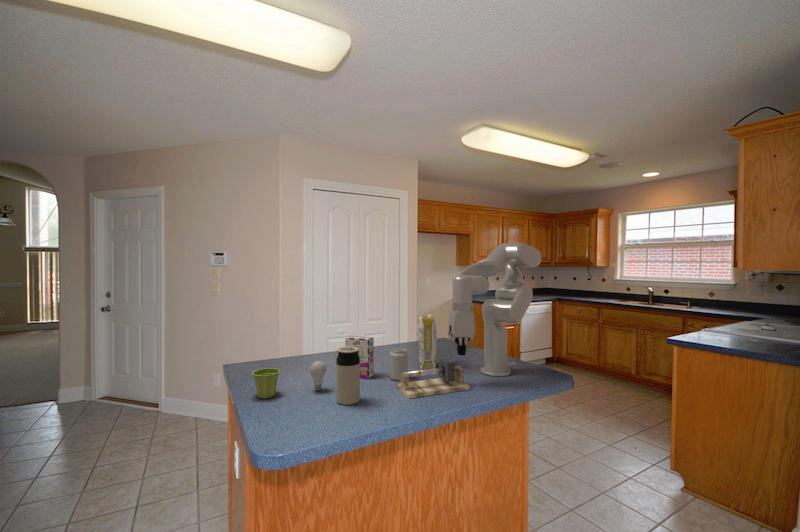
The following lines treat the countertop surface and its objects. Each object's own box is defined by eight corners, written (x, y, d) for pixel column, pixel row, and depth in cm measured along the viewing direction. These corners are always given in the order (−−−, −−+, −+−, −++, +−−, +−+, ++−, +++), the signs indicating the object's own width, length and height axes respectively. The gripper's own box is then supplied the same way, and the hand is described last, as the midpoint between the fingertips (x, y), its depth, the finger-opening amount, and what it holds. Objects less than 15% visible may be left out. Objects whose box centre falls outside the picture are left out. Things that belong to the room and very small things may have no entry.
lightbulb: (329, 388, 136) (329, 359, 136) (320, 394, 131) (320, 364, 131) (315, 387, 138) (315, 358, 138) (306, 392, 133) (306, 362, 133)
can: (405, 382, 144) (405, 352, 144) (387, 380, 146) (387, 351, 146) (409, 376, 152) (409, 347, 151) (391, 375, 153) (391, 346, 153)
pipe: (458, 370, 142) (458, 364, 142) (461, 371, 140) (461, 365, 140) (402, 377, 133) (402, 371, 133) (404, 379, 131) (404, 372, 131)
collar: (445, 375, 143) (445, 357, 143) (454, 381, 136) (454, 362, 136) (438, 376, 141) (438, 358, 141) (447, 382, 135) (447, 363, 135)
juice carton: (436, 370, 160) (436, 316, 160) (419, 370, 160) (419, 316, 160) (435, 364, 169) (435, 313, 169) (418, 364, 169) (418, 313, 169)
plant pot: (252, 393, 132) (252, 369, 132) (279, 389, 136) (279, 366, 136) (252, 402, 124) (252, 376, 124) (281, 398, 127) (281, 373, 127)
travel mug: (349, 407, 119) (349, 352, 119) (331, 402, 123) (331, 349, 123) (364, 399, 126) (364, 347, 126) (346, 395, 130) (346, 345, 130)
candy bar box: (374, 376, 152) (374, 337, 152) (368, 379, 147) (368, 339, 147) (351, 373, 156) (351, 335, 156) (345, 376, 152) (345, 337, 151)
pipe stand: (453, 379, 147) (453, 363, 147) (469, 389, 136) (469, 372, 136) (396, 387, 138) (396, 370, 137) (408, 398, 126) (408, 380, 126)
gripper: (473, 306, 147) (472, 351, 147) (440, 307, 142) (439, 354, 142) (483, 308, 140) (483, 355, 140) (450, 309, 135) (449, 358, 135)
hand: (461, 354), depth 141 cm, fingers closed
